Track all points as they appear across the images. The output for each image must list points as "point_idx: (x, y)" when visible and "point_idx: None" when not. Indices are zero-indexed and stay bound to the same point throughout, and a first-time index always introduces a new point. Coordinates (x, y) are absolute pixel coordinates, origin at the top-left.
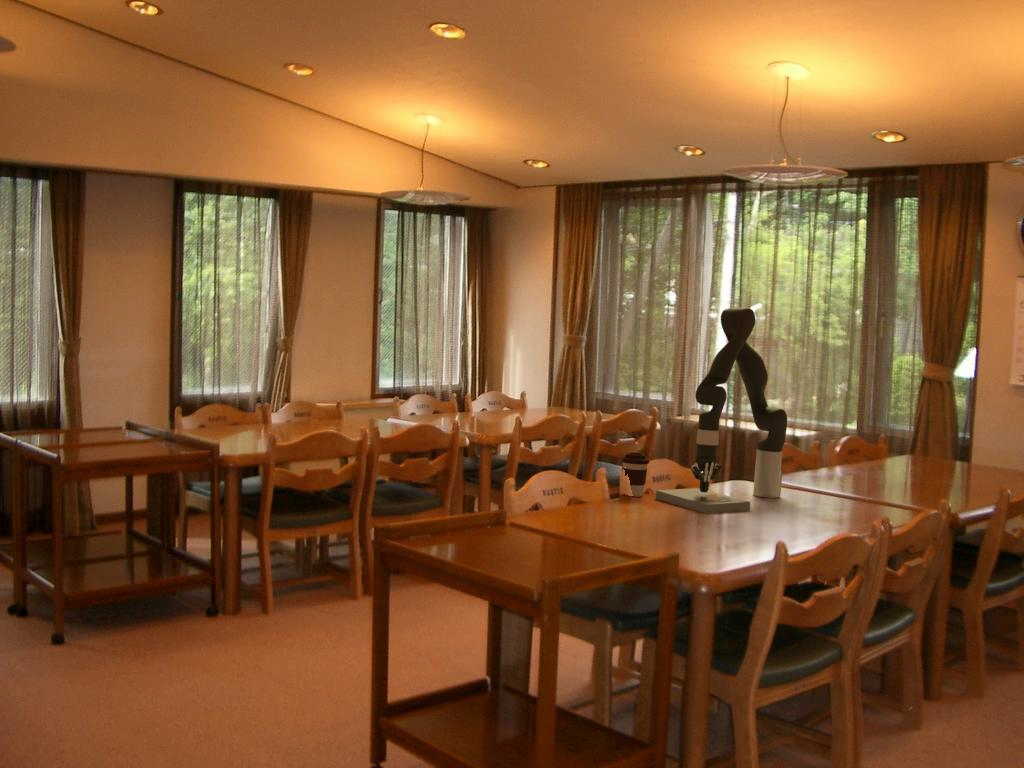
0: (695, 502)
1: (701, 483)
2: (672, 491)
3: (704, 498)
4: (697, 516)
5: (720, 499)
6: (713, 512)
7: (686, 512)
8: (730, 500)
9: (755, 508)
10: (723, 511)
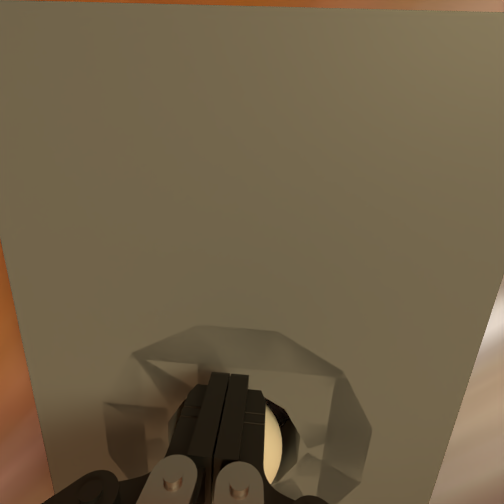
0: (52, 452)
1: (177, 454)
2: (98, 108)
3: None
4: (12, 494)
5: None
6: None
7: (5, 429)
8: None
9: (478, 493)
10: None
